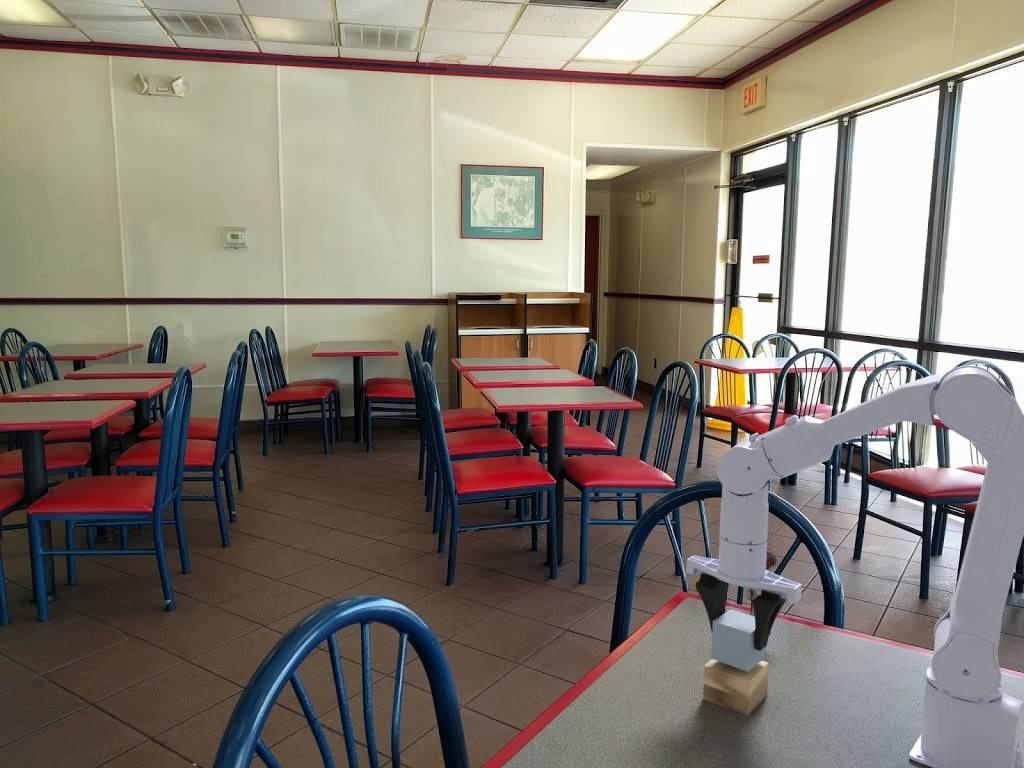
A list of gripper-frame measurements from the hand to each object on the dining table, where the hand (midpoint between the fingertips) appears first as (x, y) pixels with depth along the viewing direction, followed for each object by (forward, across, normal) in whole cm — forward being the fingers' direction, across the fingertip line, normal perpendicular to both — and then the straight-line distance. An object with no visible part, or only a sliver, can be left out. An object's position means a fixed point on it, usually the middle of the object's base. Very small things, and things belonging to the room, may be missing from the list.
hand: (738, 639), depth 95 cm
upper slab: (+6, 0, 0) cm, 6 cm away
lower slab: (+8, 0, 0) cm, 8 cm away
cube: (+2, 0, 0) cm, 3 cm away
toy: (+8, +6, -21) cm, 23 cm away
